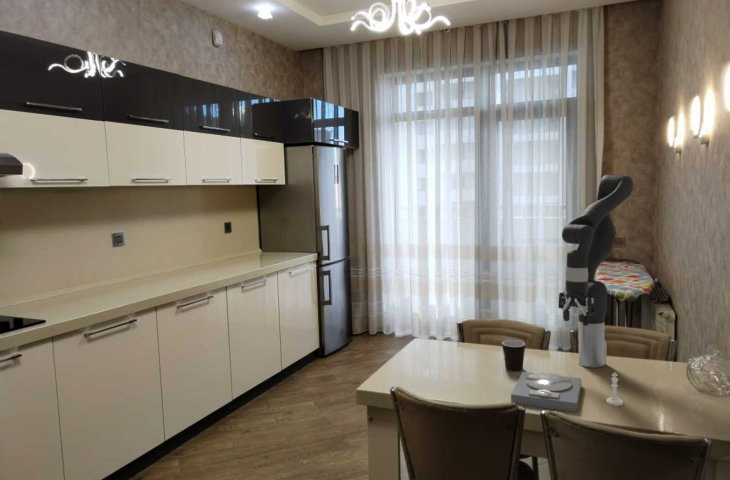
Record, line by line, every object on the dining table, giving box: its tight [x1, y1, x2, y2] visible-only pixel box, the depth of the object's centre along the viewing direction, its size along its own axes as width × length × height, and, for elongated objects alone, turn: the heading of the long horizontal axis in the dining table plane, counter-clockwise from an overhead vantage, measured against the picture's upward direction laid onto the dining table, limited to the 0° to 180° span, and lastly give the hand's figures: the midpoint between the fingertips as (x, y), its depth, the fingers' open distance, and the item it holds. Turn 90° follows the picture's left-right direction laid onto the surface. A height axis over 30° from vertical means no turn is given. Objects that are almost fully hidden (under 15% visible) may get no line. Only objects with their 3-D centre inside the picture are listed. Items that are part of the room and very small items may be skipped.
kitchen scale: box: [510, 371, 583, 413], centre depth 174 cm, size 22×20×4 cm
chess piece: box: [605, 372, 624, 407], centre depth 166 cm, size 5×5×10 cm
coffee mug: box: [501, 339, 526, 372], centre depth 202 cm, size 12×9×10 cm
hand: (576, 323), depth 189 cm, fingers open, 8 cm apart
